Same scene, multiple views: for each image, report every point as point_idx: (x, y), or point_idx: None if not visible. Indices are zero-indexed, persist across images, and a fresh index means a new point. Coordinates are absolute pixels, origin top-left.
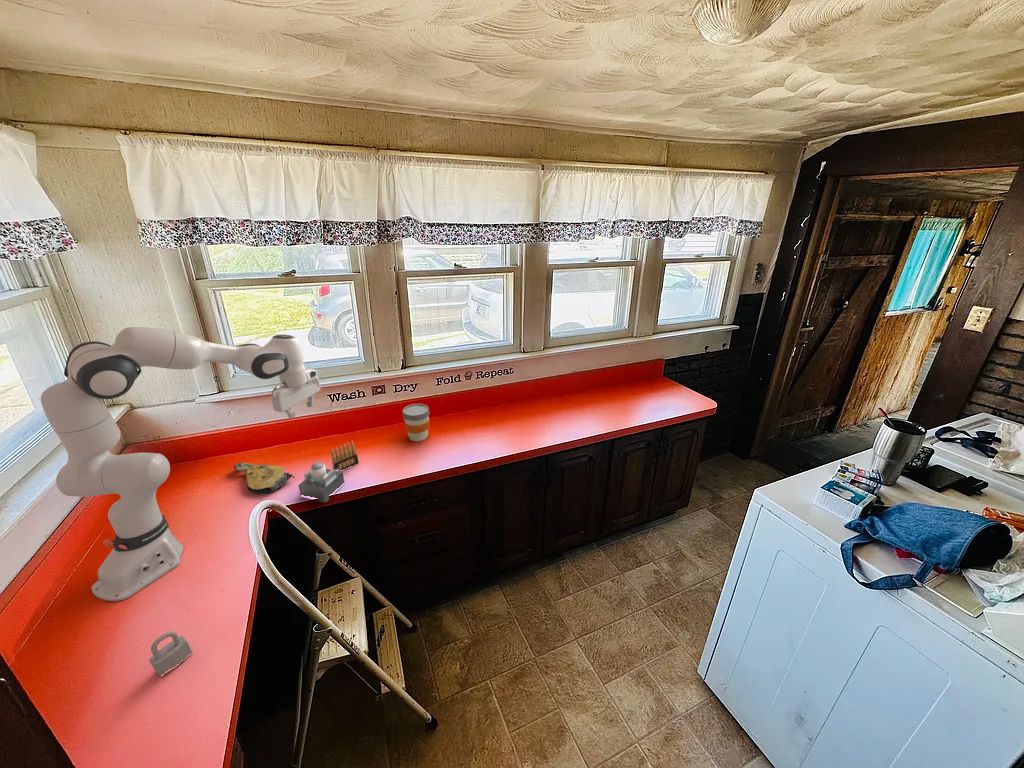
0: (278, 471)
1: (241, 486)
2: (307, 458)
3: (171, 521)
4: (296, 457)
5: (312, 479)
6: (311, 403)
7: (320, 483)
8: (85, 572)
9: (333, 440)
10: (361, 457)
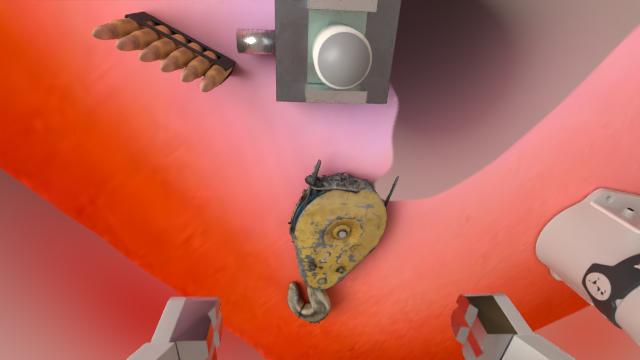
0: (319, 215)
1: None
2: (203, 202)
3: (477, 289)
4: (212, 232)
5: None
6: (183, 330)
7: (366, 26)
8: None
9: (80, 194)
10: None
